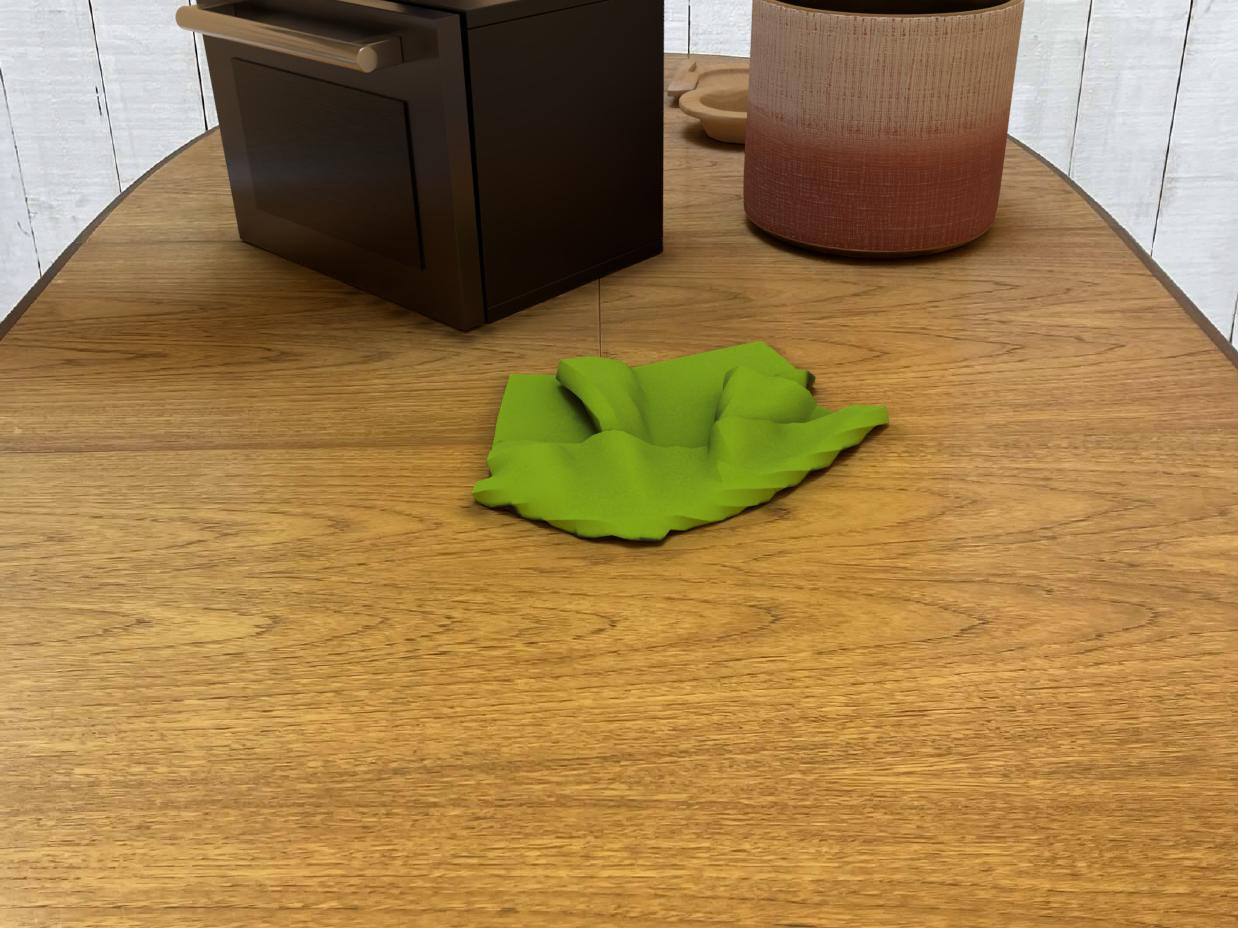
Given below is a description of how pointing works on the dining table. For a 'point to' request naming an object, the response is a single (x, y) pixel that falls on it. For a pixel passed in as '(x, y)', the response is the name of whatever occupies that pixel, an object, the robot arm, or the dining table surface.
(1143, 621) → the dining table surface
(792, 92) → the planter
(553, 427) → the cloth
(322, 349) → the dining table surface
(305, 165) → the oven door
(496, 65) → the oven
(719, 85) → the tableware set
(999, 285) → the dining table surface
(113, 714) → the dining table surface
